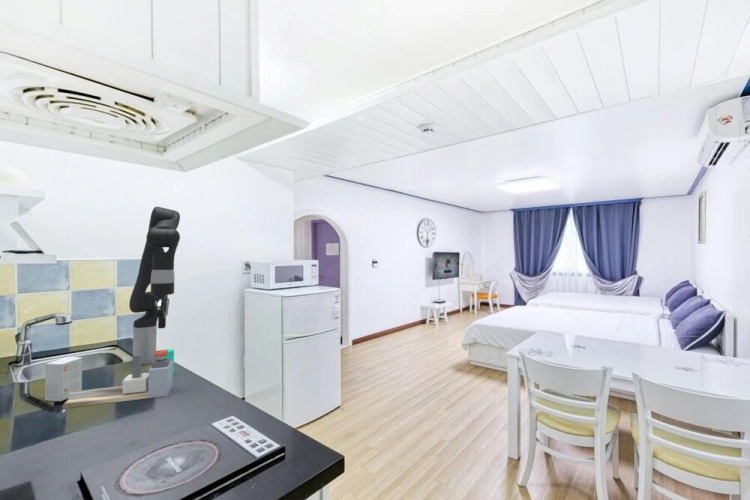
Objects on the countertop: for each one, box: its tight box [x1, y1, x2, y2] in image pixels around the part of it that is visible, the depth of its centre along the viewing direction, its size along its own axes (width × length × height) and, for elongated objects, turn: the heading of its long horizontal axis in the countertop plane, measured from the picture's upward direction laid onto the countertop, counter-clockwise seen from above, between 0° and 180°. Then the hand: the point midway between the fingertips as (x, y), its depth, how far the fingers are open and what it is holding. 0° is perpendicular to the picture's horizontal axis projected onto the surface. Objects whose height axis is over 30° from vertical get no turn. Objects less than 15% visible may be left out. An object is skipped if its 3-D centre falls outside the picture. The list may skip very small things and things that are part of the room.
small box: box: [44, 356, 83, 402], centre depth 123 cm, size 8×6×13 cm
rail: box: [62, 384, 149, 409], centre depth 122 cm, size 9×24×4 cm, turn 112°
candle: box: [156, 348, 175, 377], centre depth 145 cm, size 6×6×12 cm
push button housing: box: [147, 358, 173, 399], centre depth 128 cm, size 9×6×12 cm, turn 22°
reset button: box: [154, 349, 168, 361], centre depth 128 cm, size 4×4×3 cm
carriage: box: [121, 354, 149, 394], centre depth 125 cm, size 7×7×13 cm
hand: (161, 327), depth 128 cm, fingers closed
